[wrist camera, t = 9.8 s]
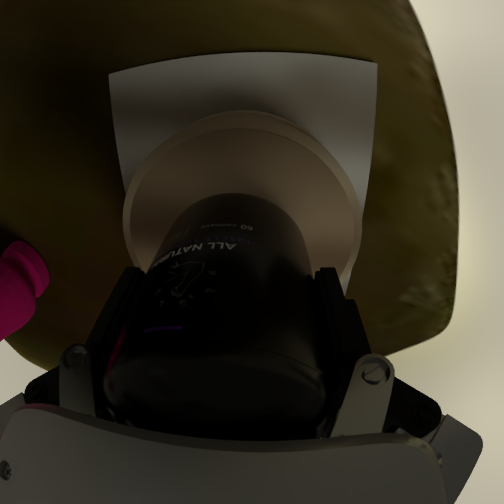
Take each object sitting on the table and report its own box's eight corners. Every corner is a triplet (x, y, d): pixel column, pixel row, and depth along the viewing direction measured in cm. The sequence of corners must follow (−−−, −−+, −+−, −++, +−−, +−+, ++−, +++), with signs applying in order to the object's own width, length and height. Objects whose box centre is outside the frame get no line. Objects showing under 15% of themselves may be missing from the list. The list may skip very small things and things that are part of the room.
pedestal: (111, 74, 13) (69, 77, 9) (374, 63, 12) (410, 60, 8) (161, 311, 24) (147, 351, 20) (338, 313, 23) (348, 354, 20)
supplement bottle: (215, 157, 11) (76, 531, 1) (332, 241, 13) (404, 513, 3) (147, 262, 14) (62, 487, 4) (249, 318, 16) (241, 526, 6)
